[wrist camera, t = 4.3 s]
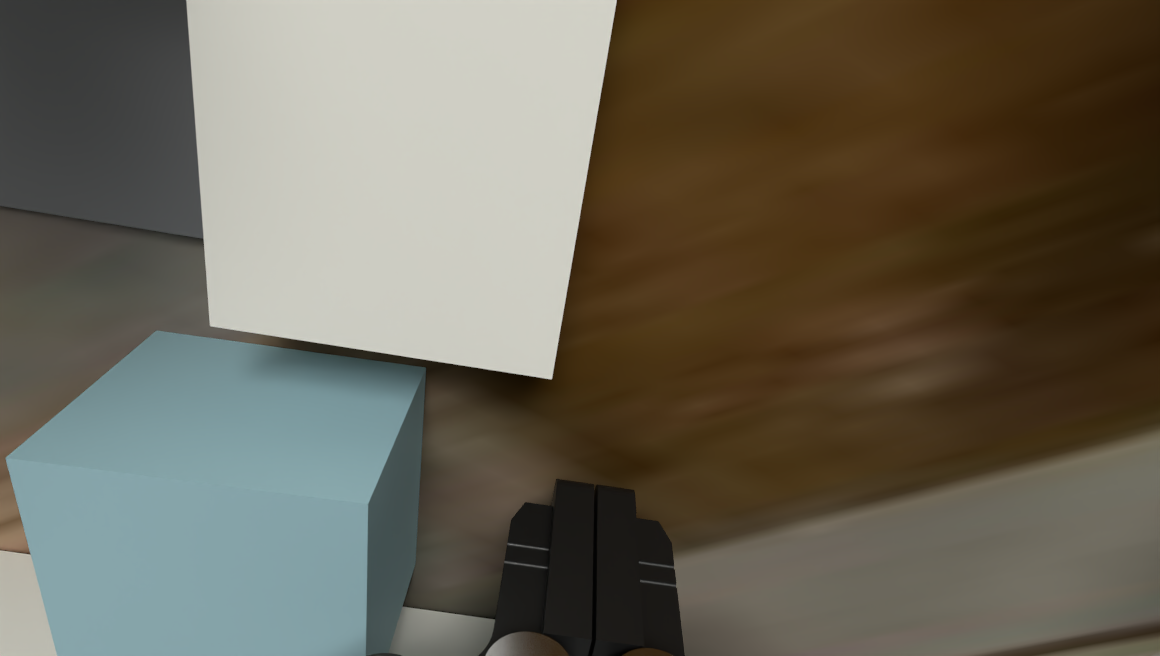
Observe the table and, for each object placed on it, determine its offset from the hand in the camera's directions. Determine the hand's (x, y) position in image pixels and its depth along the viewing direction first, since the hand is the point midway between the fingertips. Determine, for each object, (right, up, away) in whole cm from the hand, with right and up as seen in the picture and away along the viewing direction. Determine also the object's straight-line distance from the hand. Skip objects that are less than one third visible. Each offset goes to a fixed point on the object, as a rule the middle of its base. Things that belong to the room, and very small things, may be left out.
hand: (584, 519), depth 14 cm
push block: (-6, +1, +1) cm, 6 cm away
